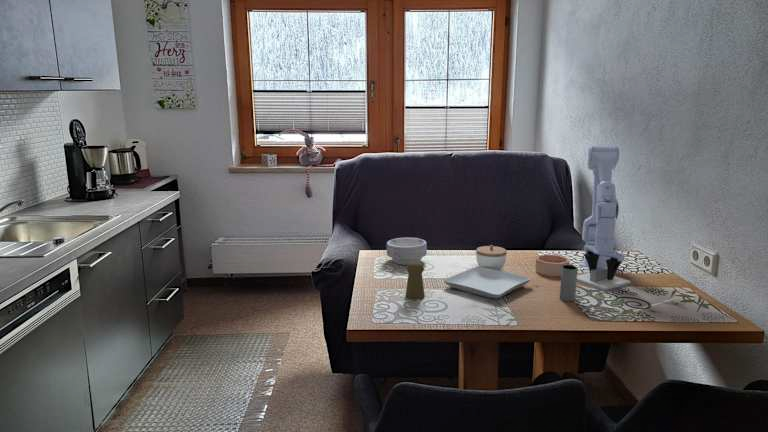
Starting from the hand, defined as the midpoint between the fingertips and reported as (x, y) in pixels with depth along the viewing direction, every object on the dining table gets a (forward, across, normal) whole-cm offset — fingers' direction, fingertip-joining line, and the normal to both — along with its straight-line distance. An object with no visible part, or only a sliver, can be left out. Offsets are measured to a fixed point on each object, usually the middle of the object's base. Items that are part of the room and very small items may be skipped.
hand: (601, 276), depth 182 cm
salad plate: (+3, -16, -36) cm, 39 cm away
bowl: (+2, -16, -6) cm, 17 cm away
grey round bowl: (+2, -54, -43) cm, 69 cm away
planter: (+2, +5, -22) cm, 23 cm away
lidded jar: (+2, -29, -23) cm, 37 cm away
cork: (+2, -21, -61) cm, 65 cm away
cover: (+2, 0, 0) cm, 2 cm away
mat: (+2, 0, 0) cm, 2 cm away
